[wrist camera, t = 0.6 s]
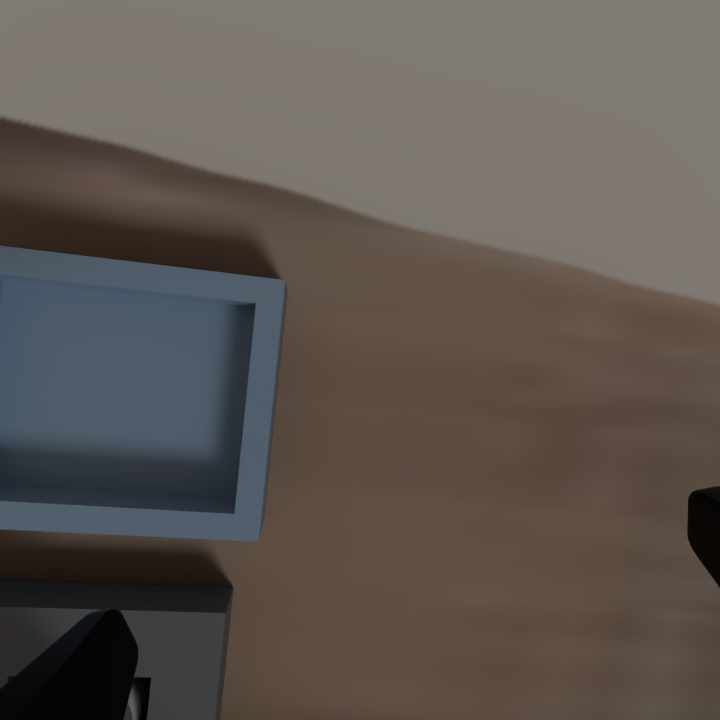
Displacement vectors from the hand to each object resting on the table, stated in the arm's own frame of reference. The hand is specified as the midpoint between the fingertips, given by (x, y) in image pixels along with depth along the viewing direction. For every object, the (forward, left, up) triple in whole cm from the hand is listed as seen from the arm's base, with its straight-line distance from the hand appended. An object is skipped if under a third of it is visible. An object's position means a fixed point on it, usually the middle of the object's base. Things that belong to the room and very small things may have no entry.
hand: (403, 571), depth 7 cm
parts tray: (+1, +9, -13) cm, 16 cm away
